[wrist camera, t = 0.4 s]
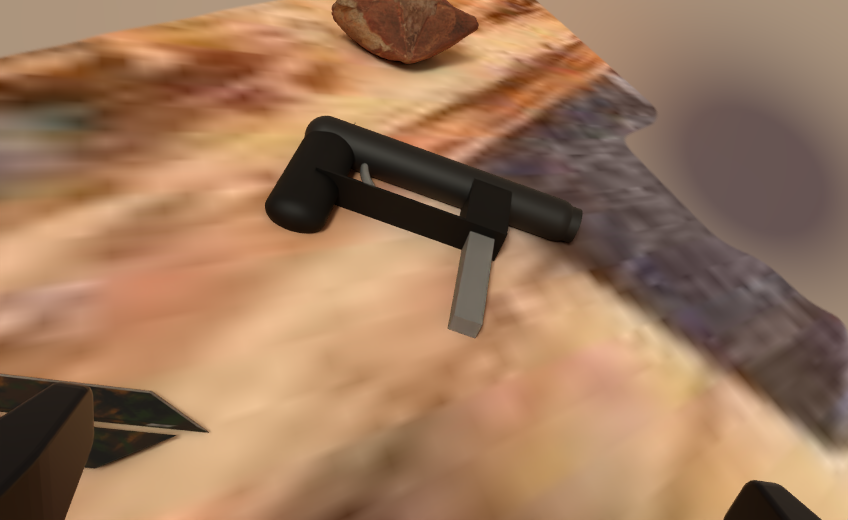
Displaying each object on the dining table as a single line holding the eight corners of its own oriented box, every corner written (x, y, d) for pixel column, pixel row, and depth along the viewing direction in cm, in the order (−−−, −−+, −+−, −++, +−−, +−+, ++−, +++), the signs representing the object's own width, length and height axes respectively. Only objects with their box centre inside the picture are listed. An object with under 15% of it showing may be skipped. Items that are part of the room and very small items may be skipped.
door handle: (587, 349, 39) (584, 190, 51) (237, 228, 37) (320, 95, 50) (562, 386, 41) (564, 224, 53) (229, 272, 39) (311, 134, 52)
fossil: (481, 29, 70) (476, -56, 61) (475, 96, 66) (469, 16, 57) (356, 30, 72) (334, -52, 63) (344, 95, 68) (318, 18, 59)
